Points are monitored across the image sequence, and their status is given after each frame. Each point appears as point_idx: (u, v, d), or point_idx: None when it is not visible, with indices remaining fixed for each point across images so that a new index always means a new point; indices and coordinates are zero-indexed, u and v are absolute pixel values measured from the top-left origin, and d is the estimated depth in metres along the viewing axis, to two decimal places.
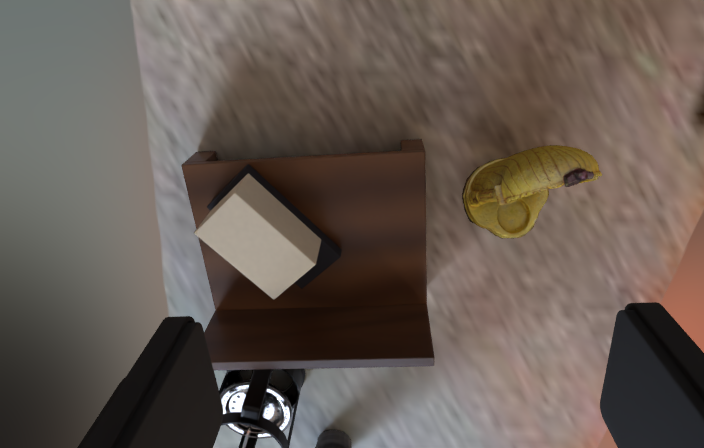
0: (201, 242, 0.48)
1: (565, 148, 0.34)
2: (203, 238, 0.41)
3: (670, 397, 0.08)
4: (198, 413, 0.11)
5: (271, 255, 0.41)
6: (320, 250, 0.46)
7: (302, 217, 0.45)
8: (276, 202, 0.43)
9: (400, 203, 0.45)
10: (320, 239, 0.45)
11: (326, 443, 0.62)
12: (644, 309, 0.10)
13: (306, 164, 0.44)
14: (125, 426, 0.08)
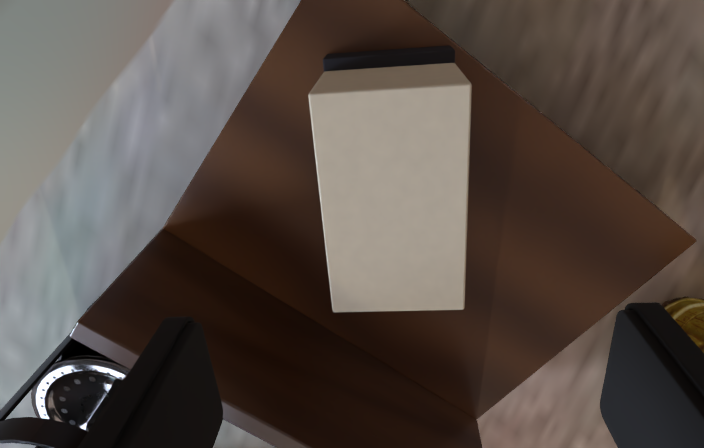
0: (241, 107, 0.23)
1: None
2: (317, 118, 0.17)
3: (670, 397, 0.08)
4: (198, 413, 0.11)
5: (409, 244, 0.19)
6: None
7: None
8: None
9: (589, 281, 0.26)
10: None
11: None
12: (644, 309, 0.10)
13: (532, 125, 0.22)
14: (125, 426, 0.08)
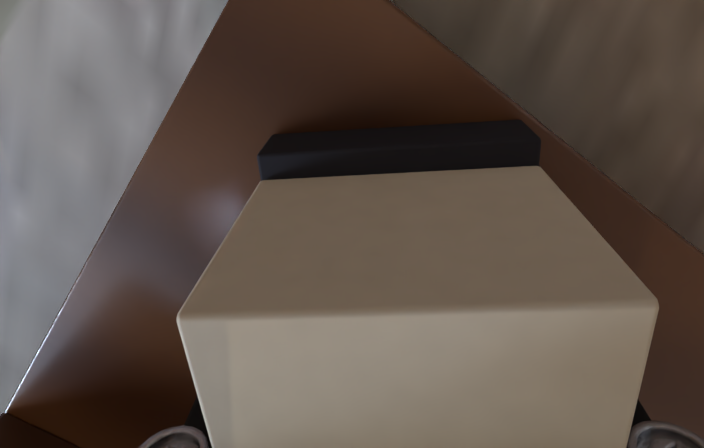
0: (114, 227, 0.12)
1: None
2: (206, 375, 0.06)
3: None
4: None
5: None
6: None
7: None
8: None
9: None
10: None
11: None
12: None
13: (668, 262, 0.12)
14: None
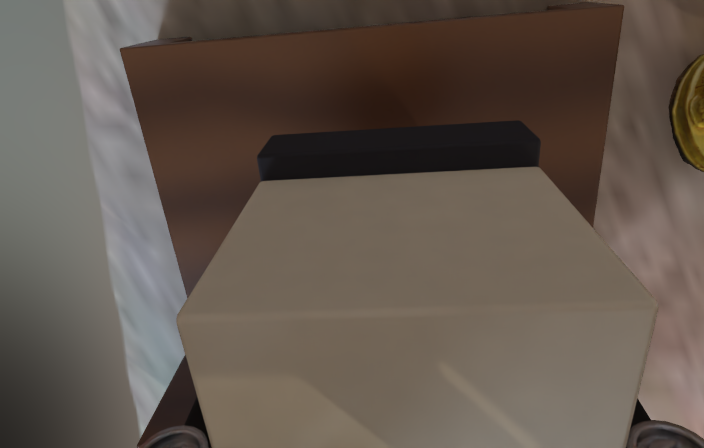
0: (166, 208, 0.26)
1: None
2: (207, 376, 0.06)
3: None
4: None
5: None
6: None
7: None
8: None
9: (557, 123, 0.23)
10: None
11: None
12: None
13: (371, 41, 0.21)
14: None
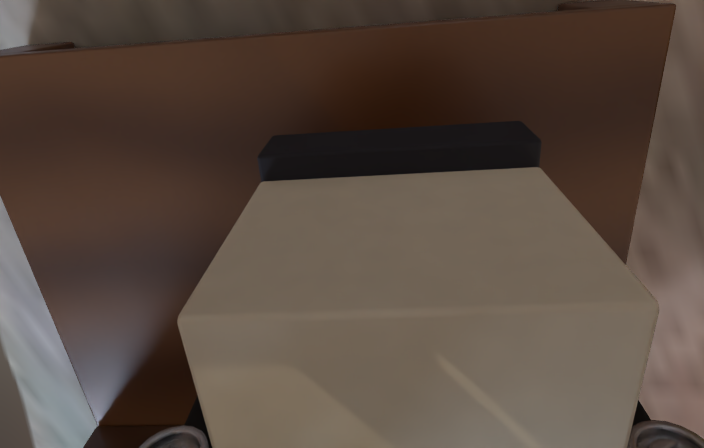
0: (38, 275, 0.19)
1: None
2: (207, 377, 0.06)
3: None
4: None
5: None
6: None
7: None
8: None
9: (571, 172, 0.16)
10: None
11: None
12: None
13: (303, 54, 0.15)
14: None
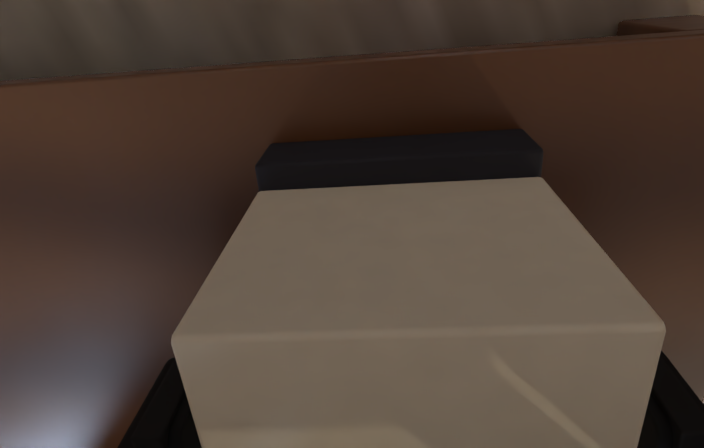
0: None
1: None
2: (202, 396, 0.06)
3: None
4: None
5: None
6: None
7: None
8: None
9: (646, 257, 0.11)
10: None
11: None
12: None
13: (268, 96, 0.10)
14: (180, 401, 0.08)
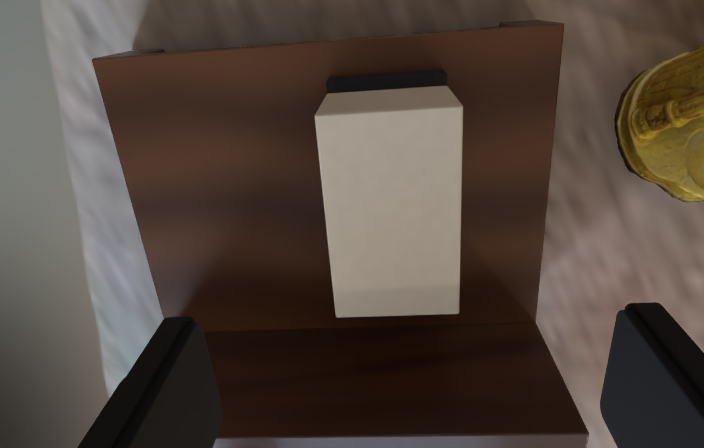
0: (137, 212, 0.27)
1: None
2: (322, 137, 0.18)
3: (670, 397, 0.08)
4: (198, 413, 0.11)
5: (407, 252, 0.20)
6: None
7: None
8: None
9: (506, 133, 0.24)
10: None
11: None
12: (644, 309, 0.10)
13: (329, 55, 0.23)
14: (125, 426, 0.08)
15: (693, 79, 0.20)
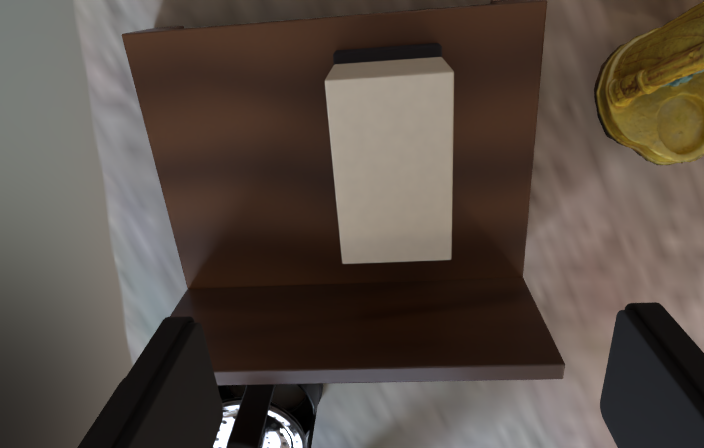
0: (161, 175, 0.29)
1: None
2: (331, 100, 0.21)
3: (670, 397, 0.08)
4: (198, 413, 0.11)
5: (405, 204, 0.23)
6: None
7: None
8: None
9: (495, 102, 0.26)
10: None
11: None
12: (644, 309, 0.10)
13: (336, 30, 0.25)
14: (125, 426, 0.08)
15: (660, 50, 0.23)
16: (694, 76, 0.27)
